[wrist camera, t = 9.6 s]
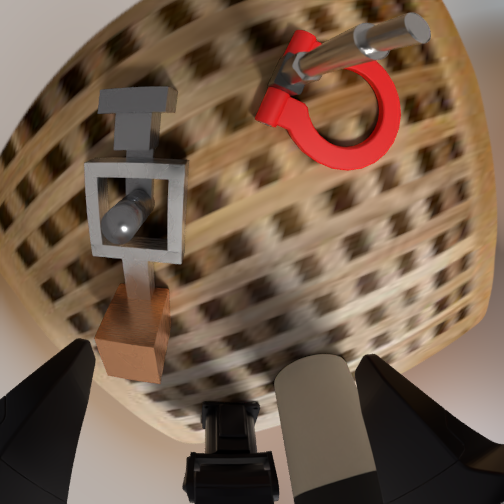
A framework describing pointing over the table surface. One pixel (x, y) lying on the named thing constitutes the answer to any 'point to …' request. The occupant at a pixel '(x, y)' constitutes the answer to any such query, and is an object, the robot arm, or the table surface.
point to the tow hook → (331, 59)
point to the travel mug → (325, 433)
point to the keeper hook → (134, 151)
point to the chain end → (137, 269)
